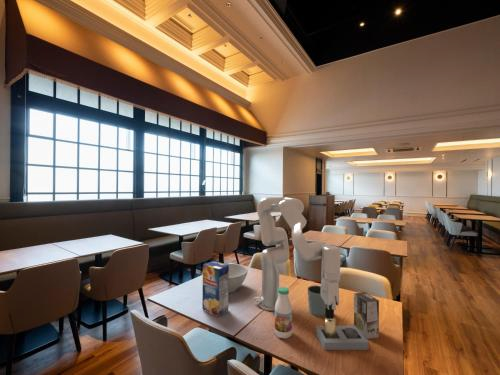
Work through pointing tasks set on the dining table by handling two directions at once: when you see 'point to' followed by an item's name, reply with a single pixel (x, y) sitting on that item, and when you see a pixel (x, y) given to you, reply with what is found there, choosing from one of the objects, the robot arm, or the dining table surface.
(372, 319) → the coffee box
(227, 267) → the juice carton
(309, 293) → the grey green cup
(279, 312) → the milk bottle
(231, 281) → the decorative bowl
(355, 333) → the frame
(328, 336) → the brass cylinder
